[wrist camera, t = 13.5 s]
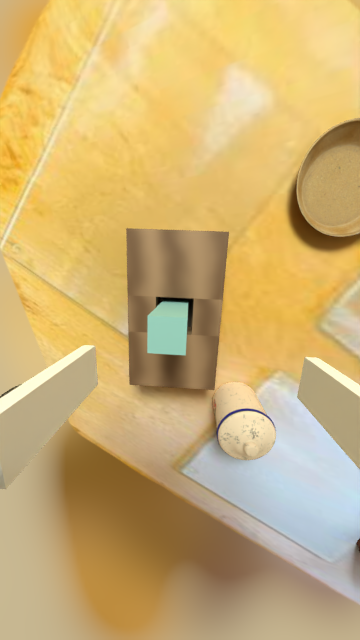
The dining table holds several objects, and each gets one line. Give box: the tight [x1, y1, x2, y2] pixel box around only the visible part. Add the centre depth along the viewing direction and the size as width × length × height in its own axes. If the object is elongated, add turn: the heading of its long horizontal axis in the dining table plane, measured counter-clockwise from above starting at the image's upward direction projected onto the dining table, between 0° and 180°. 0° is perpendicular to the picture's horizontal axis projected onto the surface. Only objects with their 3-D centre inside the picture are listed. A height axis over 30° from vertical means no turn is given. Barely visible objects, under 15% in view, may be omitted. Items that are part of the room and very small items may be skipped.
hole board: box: [126, 228, 229, 390], centre depth 32 cm, size 14×24×6 cm, turn 178°
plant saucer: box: [296, 118, 360, 237], centre depth 28 cm, size 15×15×3 cm
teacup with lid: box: [212, 382, 276, 460], centre depth 33 cm, size 12×9×12 cm
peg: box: [147, 299, 188, 355], centre depth 26 cm, size 4×4×14 cm
